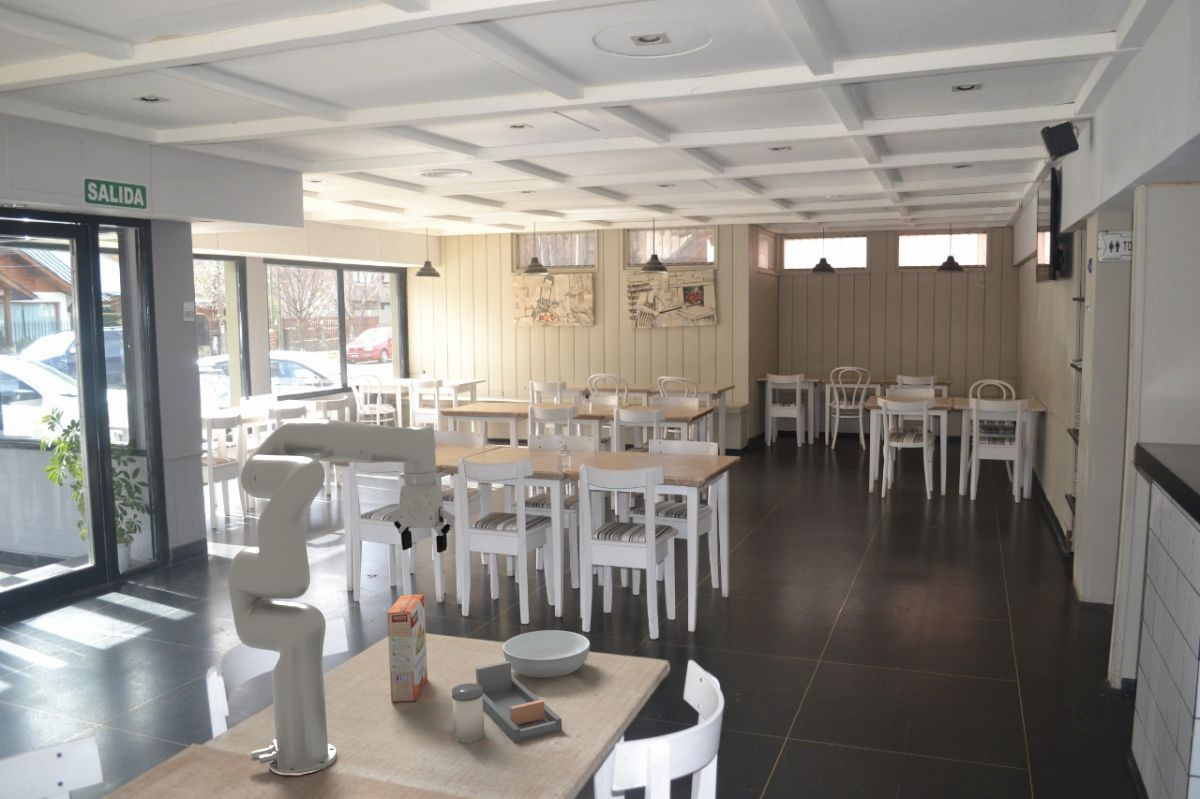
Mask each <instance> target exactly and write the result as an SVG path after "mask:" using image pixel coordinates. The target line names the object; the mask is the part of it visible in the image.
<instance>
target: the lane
mask: <svg viewBox="0 0 1200 799" xmlns="http://www.w3.org/2000/svg"><path fill="white" fill-rule="evenodd" d="M475 677H476V678H475V679H476V681H475V682H476V684H479V685H481V686H482V690H483V695H482V699H483V712H485V713H486V714H487V716H488V717H490V719H492V721H493V722H495V724H496V723H497V724H498V725H499V726H500V727H501V728H502V729H503V730H502V729H501V728H500V727H499V726H498V725H497V724H496V725H497V726H498V727H499V728H500V729H501V730H502V731H503V732H504V733H505V734H506V735H507V736H508V737H509V739H511V741H513V742H514V743H520V742H523V741H527V740H531V739H535V738H538V737H542V736H546V735H550V734H554V733H555V734H556V733H559V732H563V726H562V725H563V724H562V717H560V715H558V714H557V713H556V712H555V711H553V710H552V709H551V708H550V707H549V706H548V705H547V704H546V703H544V708H545V718H543V719H539V720H535V721H531V722H527V723H523V724H518V725H516V724H515V723H514V722H513V721H512V720H511V718H510V707H512V706H516V705H520V704H525V703H529V702H533V701H537V700H541V699H540V698H539V697H537V696H536V694H535V693H533V692H532V691H530V689H529V688H527V687H526V686H525V685H523V683H521V681H519V680H518V679H517V677H516V678H515V677H512V668H511V662H510V661H506V660H505V661H503V662H498V663H494V664H488V665H484V666H478V667H475ZM534 737H535V738H534Z"/></svg>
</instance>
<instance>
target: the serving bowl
mask: <svg viewBox="0 0 1200 799" xmlns="http://www.w3.org/2000/svg"><path fill="white" fill-rule="evenodd" d="M590 646H591V643H590V640H589V639H588V638H587V637H585V636H584V635H582V634H579V633H576V632H574V631H573V632H572V631H566V630H556V629H555V630H552V629H551V630H536V631H530V632H525V633H521V634H518V635H515V636H513V637H511V638H510V639H507V640H506V641H505V642H504V643H503V645H502V653H503V656H504V659H505V662H506V661H510V662H511V670H513V671H514V672H516V673H518V674H520V675H523V676H526V677H531V678H538V679H551V677H552V678H557V677H562V676H566V675H568V674H569V675H570V674H571V673H573V672H575V671H577V670H578V669H579V668H581V667H582V666H583V665H584V664H585V662H586V661H587V658H588V656H589V653H590Z"/></svg>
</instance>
